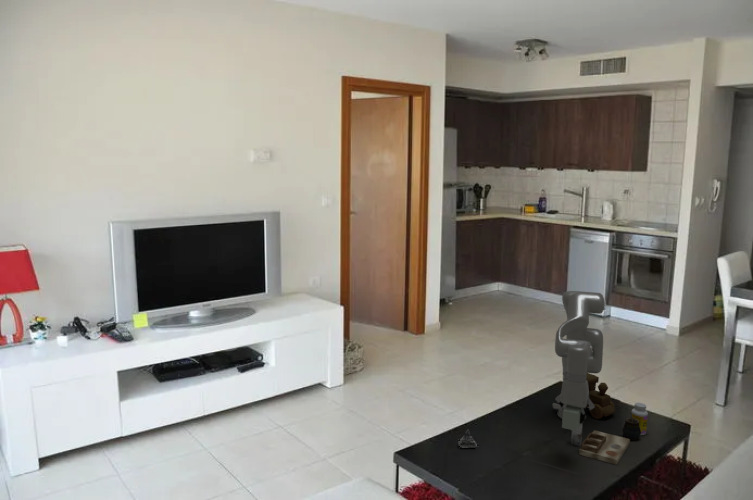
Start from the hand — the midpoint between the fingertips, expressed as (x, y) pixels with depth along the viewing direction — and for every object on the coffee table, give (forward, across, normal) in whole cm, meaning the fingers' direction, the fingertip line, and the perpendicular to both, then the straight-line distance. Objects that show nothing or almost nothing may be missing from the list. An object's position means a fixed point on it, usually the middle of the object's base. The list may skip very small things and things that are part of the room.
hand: (573, 420), depth 242 cm
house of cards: (+17, -40, -10) cm, 45 cm away
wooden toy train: (+17, -5, +52) cm, 55 cm away
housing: (+1, 0, 0) cm, 1 cm away
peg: (+17, -2, +15) cm, 23 cm away
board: (+17, +9, +17) cm, 25 cm away
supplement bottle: (+17, +17, +41) cm, 48 cm away
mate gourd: (+17, +16, +34) cm, 41 cm away
